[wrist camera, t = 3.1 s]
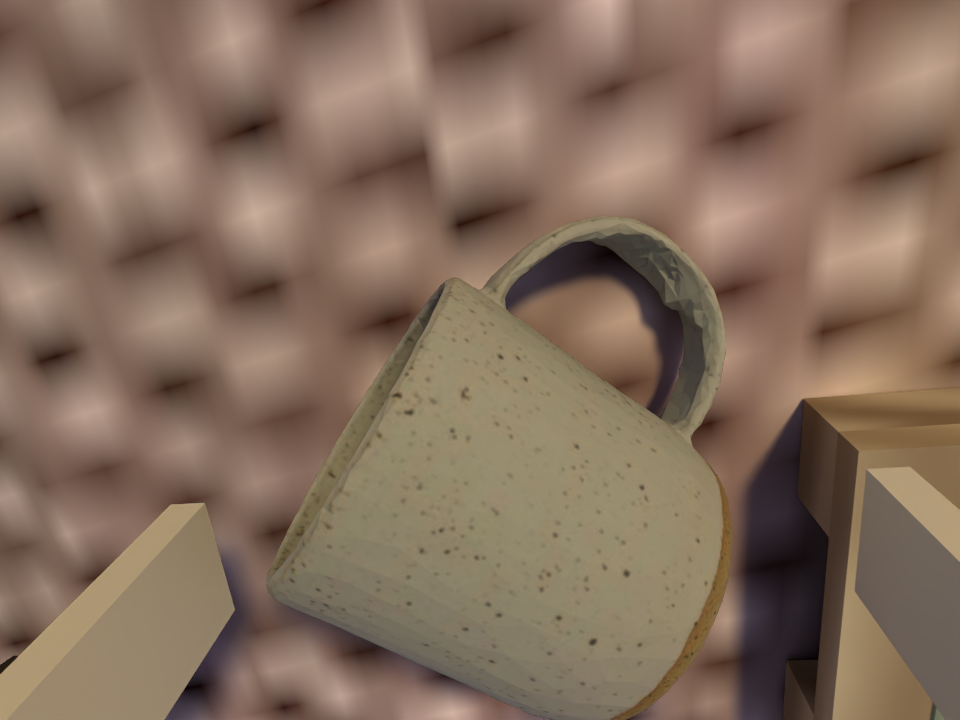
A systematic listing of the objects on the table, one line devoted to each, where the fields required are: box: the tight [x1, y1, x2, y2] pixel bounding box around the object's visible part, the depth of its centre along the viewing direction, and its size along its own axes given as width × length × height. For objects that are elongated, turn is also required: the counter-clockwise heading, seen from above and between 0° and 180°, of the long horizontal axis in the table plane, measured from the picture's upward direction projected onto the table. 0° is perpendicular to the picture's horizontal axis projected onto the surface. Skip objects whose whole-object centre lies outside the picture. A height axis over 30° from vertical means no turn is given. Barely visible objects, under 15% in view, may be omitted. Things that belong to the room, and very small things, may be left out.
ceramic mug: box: [266, 216, 733, 720], centre depth 14 cm, size 11×8×8 cm
